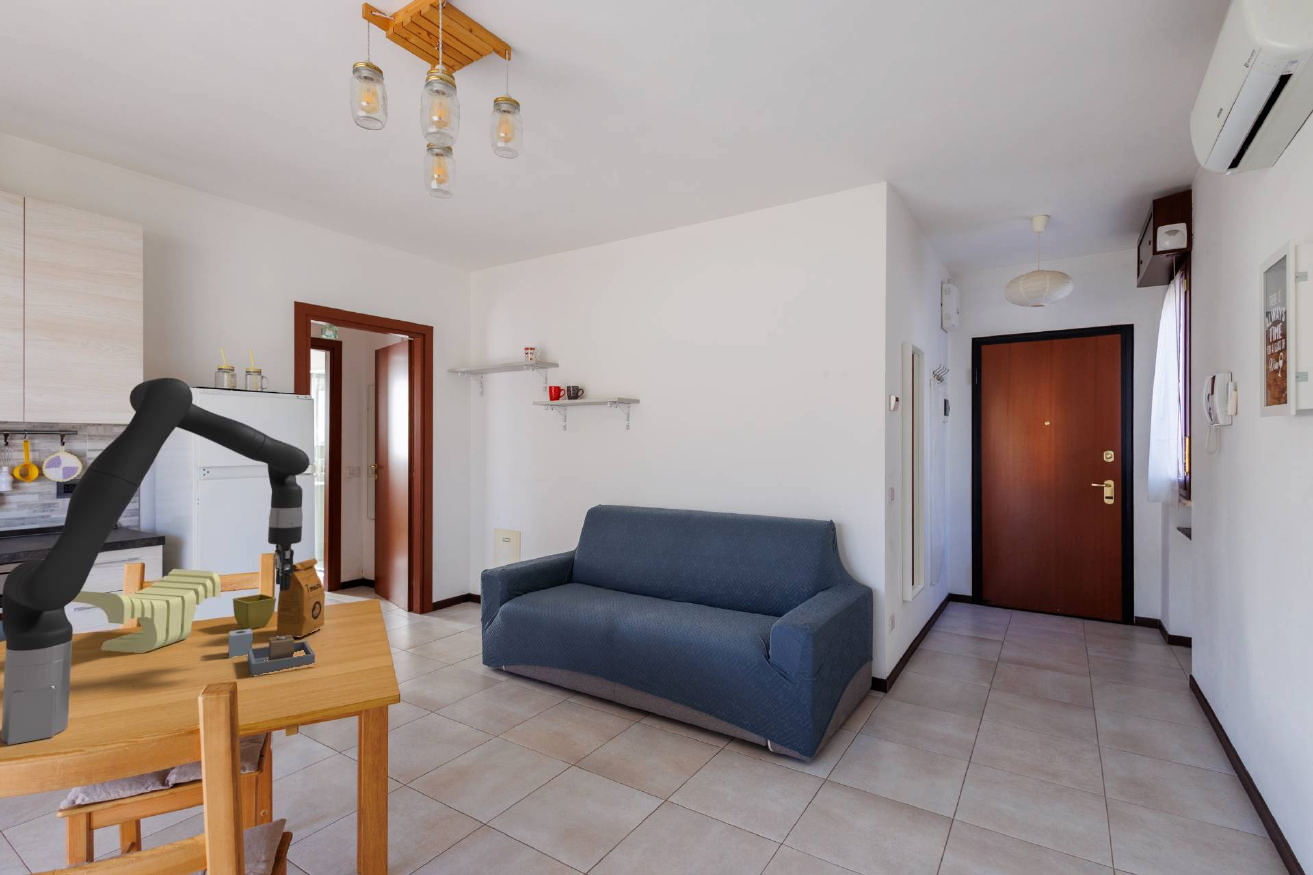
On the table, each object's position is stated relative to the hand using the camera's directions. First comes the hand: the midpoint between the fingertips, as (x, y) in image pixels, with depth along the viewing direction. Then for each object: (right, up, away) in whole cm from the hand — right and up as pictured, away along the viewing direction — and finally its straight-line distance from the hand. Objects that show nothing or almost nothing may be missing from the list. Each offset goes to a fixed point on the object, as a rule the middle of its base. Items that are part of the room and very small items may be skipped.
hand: (282, 587), depth 162 cm
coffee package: (-10, -21, +26) cm, 34 cm away
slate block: (-15, -20, +6) cm, 26 cm away
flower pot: (-28, -20, +31) cm, 46 cm away
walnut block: (0, -19, 0) cm, 19 cm away
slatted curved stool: (-45, -19, +12) cm, 50 cm away
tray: (0, -20, 0) cm, 20 cm away
